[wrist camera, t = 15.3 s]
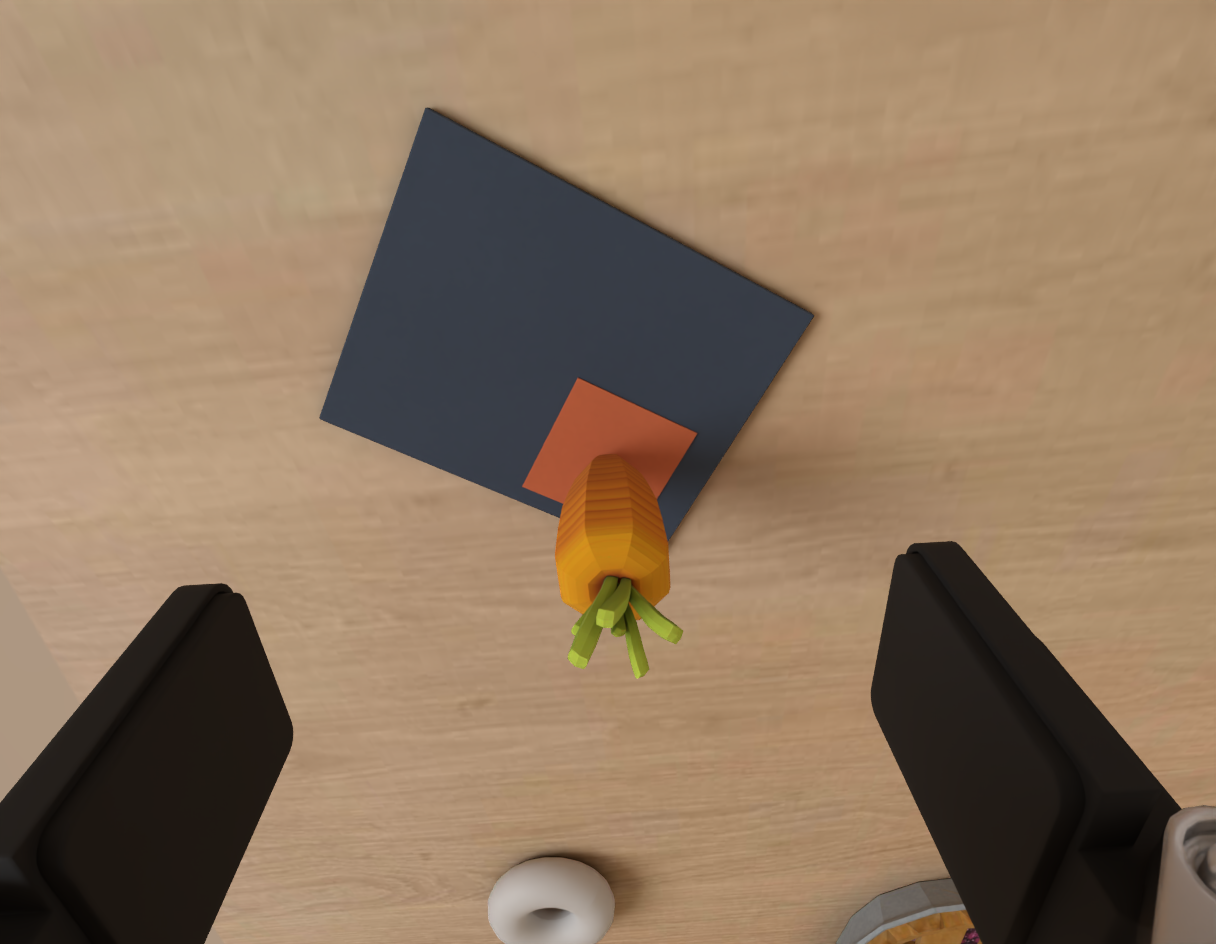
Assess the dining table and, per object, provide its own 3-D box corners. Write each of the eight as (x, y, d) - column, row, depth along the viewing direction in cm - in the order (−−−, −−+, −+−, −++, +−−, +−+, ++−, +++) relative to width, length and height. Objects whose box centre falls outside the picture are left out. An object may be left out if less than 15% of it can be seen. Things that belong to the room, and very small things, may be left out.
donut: (470, 899, 57) (577, 935, 59) (462, 945, 54) (575, 980, 56) (526, 830, 53) (638, 871, 55) (521, 875, 50) (640, 916, 52)
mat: (321, 415, 36) (317, 419, 36) (428, 107, 30) (424, 107, 29) (656, 553, 41) (657, 559, 40) (811, 313, 34) (815, 316, 34)
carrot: (667, 431, 37) (711, 617, 23) (636, 509, 39) (661, 719, 25) (576, 405, 36) (568, 583, 22) (550, 486, 38) (530, 691, 25)
